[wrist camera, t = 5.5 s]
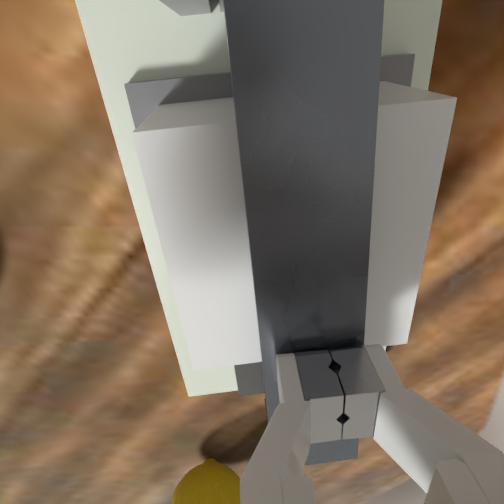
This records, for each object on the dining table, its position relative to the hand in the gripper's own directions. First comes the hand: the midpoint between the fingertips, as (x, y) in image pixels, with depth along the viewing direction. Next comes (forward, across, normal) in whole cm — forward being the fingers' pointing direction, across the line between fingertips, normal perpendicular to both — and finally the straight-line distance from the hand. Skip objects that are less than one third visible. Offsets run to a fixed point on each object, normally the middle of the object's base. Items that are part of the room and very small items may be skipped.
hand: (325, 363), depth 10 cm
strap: (+3, 0, -2) cm, 4 cm away
